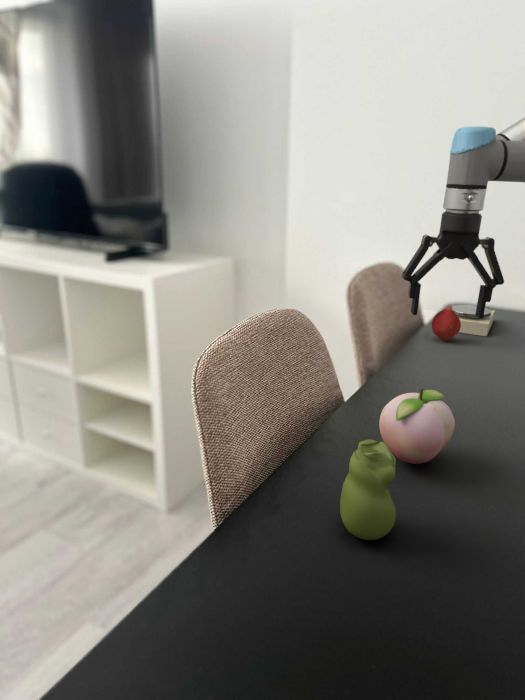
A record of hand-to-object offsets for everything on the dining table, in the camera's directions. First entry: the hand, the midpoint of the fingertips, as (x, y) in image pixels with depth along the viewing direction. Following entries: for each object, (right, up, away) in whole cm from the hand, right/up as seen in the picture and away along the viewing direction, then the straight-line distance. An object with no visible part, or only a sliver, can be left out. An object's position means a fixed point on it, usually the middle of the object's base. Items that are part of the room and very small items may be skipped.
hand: (446, 315), depth 109 cm
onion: (0, -6, +2) cm, 6 cm away
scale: (+10, -2, +14) cm, 17 cm away
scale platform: (+10, +1, +11) cm, 15 cm away
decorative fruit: (-21, -21, -45) cm, 54 cm away
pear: (-29, -26, -58) cm, 69 cm away
